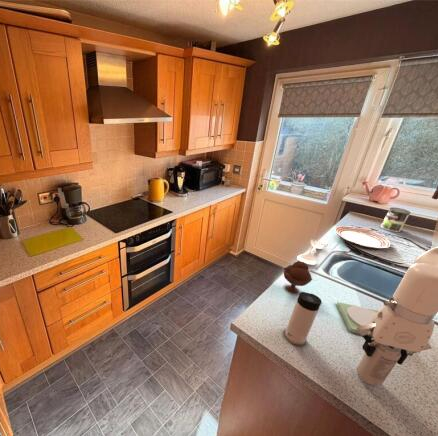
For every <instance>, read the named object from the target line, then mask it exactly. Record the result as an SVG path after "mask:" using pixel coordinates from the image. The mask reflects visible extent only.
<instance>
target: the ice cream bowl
mask: <svg viewBox="0 0 438 436" xmlns="http://www.w3.org/2000/svg"><path fill="white" fill-rule="evenodd" d="M283 277H284V279H285V280H286V281H287V282H288V283H289V285H286V286H285V291H287V292H288V293H291V294H293V295H294V294H296V295H297V294H299V293H300V292H299V289H298V288H297V287H304V286H306V285H308V284H310V283H311V282H312V280H313V277H312V274H311V272H310V271H309V265H307V264H306V263H305V262H302V261H299V260H297V261H294V262H293V263H292V264H288V265H287V266H286V267H283ZM296 286H297V287H296Z"/></svg>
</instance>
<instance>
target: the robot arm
mask: <svg viewBox="0 0 438 436" xmlns="http://www.w3.org/2000/svg"><path fill="white" fill-rule="evenodd" d="M377 311H378V312H377V313H376V314H375V316H374V317H373V318H372V320H371V321H370V323H369V324H368V325H365V326H361V327H357V330H358V332H359V333H360V334H359V335H360V336H361V337H362V338H363V340H365V341H364V342H363V344H362V350H363V351H364V353H366V355H367V356H369V357H370V356H372V354H373V352H374V351H375V349H376V347H375V345H377V344H378V343H380V344H384V345H388V346H392V347H396V348H400V349H401V357H400V358H399V360H398V361H397V363H396V364H397V365H400V366H402V365H403V364H404V362H405V361H406V359H407V358H408V356H410V357H411V356H413V355H414V354H416V353H421V352H422V351H428V350H431V349H433V348H432V346H431V345H430V343H429V342H430V340H431V337H432V336H433V332H434V328H435V321H434V320H433V319H434V318H435V317H436V315H437V314H438V245H437V246H434V247H433V248H431V249H428V250H427V251H425V252H423V253H422V254H420V255H418V256H417V257H416V258H415V259H414V260H413V262H412V264H411V265H410V266H409V267H408V268H407V270H406V272H405V273H404V275H403V277H402V279H401V281H400V282H399V284H398V286H397V287H396V289H395V291H394V292H393V294H392V296H391V297H390V299H389V300H383V306H382V307H380V309H378V310H377ZM371 331H372V332H371ZM367 332H370V333H369V334H367ZM372 339H373V340H372Z"/></svg>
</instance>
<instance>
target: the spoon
mask: <svg viewBox="0 0 438 436" xmlns="http://www.w3.org/2000/svg"><path fill="white" fill-rule="evenodd" d="M317 242H318V243H317ZM314 244H315V245H314ZM328 245H329V243H324V242H322V243H321V242H320V241H317V240H315V239H314V238H311V239H310V246H312V247H311V248H309V249H310V251H309V252H306V253H301V254H298V255H297V256H296V259H297V261H302V262H305V263H306V264H307V265H308V266H315V265H316V264H317V262H318V261H317V258H316V257H315V255H314V252H315V253H316V252H317V250H322V249H325V248H327V246H328ZM302 255H303V256H302ZM301 256H302V257H301Z"/></svg>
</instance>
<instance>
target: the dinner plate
mask: <svg viewBox="0 0 438 436" xmlns="http://www.w3.org/2000/svg"><path fill="white" fill-rule="evenodd" d="M360 232H362V233H360ZM334 233H335V234H337V236H339V237H340V238H341V239H343V240H345V241H347V242H348V243H349V242H350V243H351V244H354V243H355V244H354V245H357V244H358V245H357V246H360V247H366V248H373V249H387V248H390V247H391V245H392V243H391V242H390V241H389V239H387V238H386V237H384V236H383V235H381V234H379V233H376V232H374V231H371V230H368V229H365V228H361V227H357V226H349V225H340V226H336V227H334ZM364 233H367V234H364ZM368 234H370V235H373V236H376V237H378V238H379V239H381V240H382V241H383V242H384V243H385V245H384V246H383V242H382V241H381V240H379V239H377V238H375V237H373V236H370V235H368ZM381 246H382V247H381Z"/></svg>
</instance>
